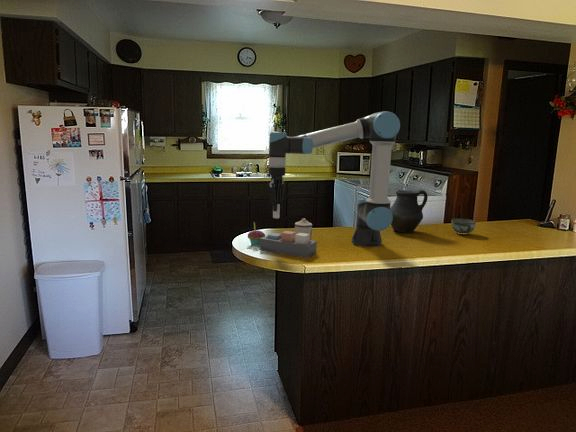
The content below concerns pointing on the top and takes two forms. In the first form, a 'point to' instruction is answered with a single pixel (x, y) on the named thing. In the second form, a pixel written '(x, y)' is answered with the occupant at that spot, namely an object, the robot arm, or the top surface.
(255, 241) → the cupcake
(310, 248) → the tray
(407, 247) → the top surface
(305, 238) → the key ivory
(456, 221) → the bowl
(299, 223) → the teacup with lid
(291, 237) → the orange cube
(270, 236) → the blue cube
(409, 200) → the pitcher
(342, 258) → the top surface
